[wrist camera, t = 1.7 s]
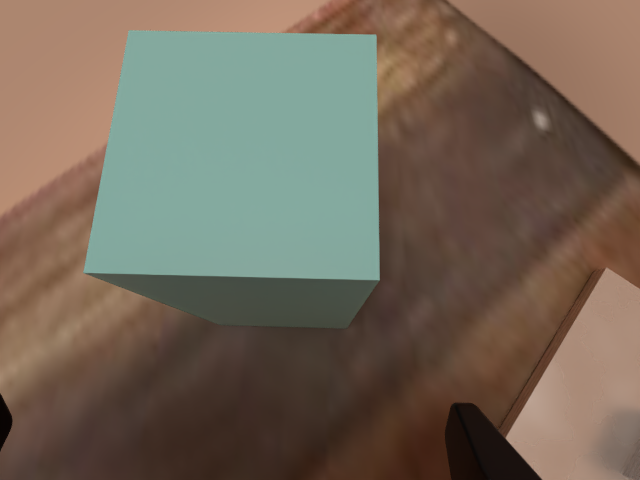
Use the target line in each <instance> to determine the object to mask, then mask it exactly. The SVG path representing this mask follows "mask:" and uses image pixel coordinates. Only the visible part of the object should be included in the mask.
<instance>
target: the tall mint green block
mask: <svg viewBox="0 0 640 480" xmlns="http://www.w3.org/2000/svg"><path fill="white" fill-rule="evenodd" d="M83 273H85V274H88V275H90V276H93V277H95V278H98V279H101V280H103V281H106V282H109V283H111V284H114V285H116V286H119V287H122V288H124V289H127V290H130V291H132V292H135V293H137V294H140V295H143V296H145V297H148V298H150V299H153V300H156V301H158V302H161V303H164V304H166V305H169V306H171V307H174V308H177V309H179V310H182V311H184V312H187V313H190V314H192V315H195V316H198V317H200V318H203V319H205V320H208V321H211V322H213V323H216V324H219V325H232V326H270V327H308V328H346V329H347V327H348V326H349V324H350V323H351V321H352V320H353V319H354V317H355V316H356V314H357V313H358V311H359V310H360V308H361V307H362V305H363V304H364V302H365V301H366V299H367V298H368V297H369V295H370V294H371V292H372V291H373V289H374V288H375V286H376V285H377V283H378V282H379V280H380V270H379V197H378V123H377V50H376V35H358V34H301V33H243V32H187V31H132V30H130V31H129V32H128V38H127V43H126V48H125V54H124V60H123V65H122V70H121V75H120V80H119V86H118V91H117V96H116V102H115V107H114V113H113V118H112V124H111V128H110V134H109V139H108V144H107V150H106V155H105V160H104V166H103V171H102V176H101V182H100V187H99V192H98V198H97V203H96V208H95V214H94V219H93V224H92V230H91V235H90V240H89V246H88V251H87V256H86V262H85V267H84V272H83Z"/></svg>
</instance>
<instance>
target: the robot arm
mask: <svg viewBox="0 0 640 480" xmlns="http://www.w3.org/2000/svg"><path fill="white" fill-rule="evenodd" d="M11 427H12V415H11V413H10V411H9V409H8V407H7V405H6V403H5V401H4V399H3V397H2V395H1V394H0V451H1V448H2V446H3V444H4V442H5V440H6V438H7V436H8V434H9V432H10V430H11ZM445 442H446V448H447V454H448V461H449V467H450V473H451V479H452V480H542V479H541V477H540V476H539V475H538V474H537V473H536V472H535V471H534V470H533V468H532V467H531V466H530V465H529V464H528V463H527V462H526V461H525V460H524V458H523V457H522V456H521V455H520V454H519V453H518V452H517V451H516V450H515V448H514V447H513V446H512V445H511V444H510V443H509V442H508V441H507V439H506V438H505V437H504V436H503V435H502V434H501V433H500V432H499V431H498V429H497V428H496V427H495V426H494V425H493V424H492V423H491V422H490V421H489V419H488V418H487V417H486V416H485V415H484V414H483V413H482V412H481V410H480V409H479V408H478V407H477V406H476V405H474V404H472V403H453V404H452V406H451V408H450V412H449V416H448V421H447V425H446V429H445Z"/></svg>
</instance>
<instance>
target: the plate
mask: <svg viewBox="0 0 640 480" xmlns="http://www.w3.org/2000/svg"><path fill="white" fill-rule="evenodd" d="M498 431H499V432H500V433H501V434H502V435H503V436H504V437H505V438H506V439H507V441H508V442H509V443H510V444H511V445H512V446H513V447H514V448H515V450H516V451H517V452H518V453H519V454H520V455H521V456H522V457H523V458H524V460H525V461H526V462H527V463H528V464H529V465H530V466H531V467H532V468H533V470H534V471H535V472H536V473H537V474H538V475H539V476H540V477H541V479H542V480H640V289H639V288H637V287H636V286H634V285H633V284H631V283H629V282H628V281H626V280H625V279H623V278H622V277H620V276H619V275H617V274H616V273H614V272H613V271H611V270H610V269H608V268H603V269H601V270H598V271H595V272H593V273H592V275H591V277H590V278H589V280H588V282H587V283H586V285H585V287H584V288H583V290H582V292H581V293H580V295H579V297H578V298H577V300H576V302H575V303H574V305H573V307H572V308H571V310H570V312H569V313H568V315H567V317H566V318H565V320H564V322H563V323H562V325H561V327H560V328H559V330H558V332H557V333H556V335H555V337H554V338H553V340H552V342H551V343H550V345H549V347H548V348H547V350H546V352H545V353H544V355H543V357H542V358H541V360H540V362H539V363H538V365H537V367H536V368H535V370H534V372H533V373H532V375H531V377H530V378H529V380H528V382H527V383H526V385H525V387H524V388H523V390H522V392H521V393H520V395H519V397H518V399H517V400H516V402H515V404H514V405H513V407H512V409H511V410H510V412H509V414H508V415H507V417H506V419H505V420H504V422H503V424H502V425H501V427H500V429H499V430H498Z"/></svg>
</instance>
